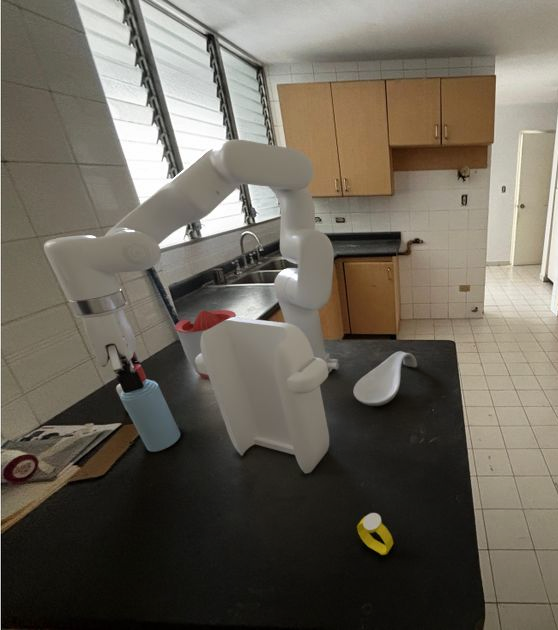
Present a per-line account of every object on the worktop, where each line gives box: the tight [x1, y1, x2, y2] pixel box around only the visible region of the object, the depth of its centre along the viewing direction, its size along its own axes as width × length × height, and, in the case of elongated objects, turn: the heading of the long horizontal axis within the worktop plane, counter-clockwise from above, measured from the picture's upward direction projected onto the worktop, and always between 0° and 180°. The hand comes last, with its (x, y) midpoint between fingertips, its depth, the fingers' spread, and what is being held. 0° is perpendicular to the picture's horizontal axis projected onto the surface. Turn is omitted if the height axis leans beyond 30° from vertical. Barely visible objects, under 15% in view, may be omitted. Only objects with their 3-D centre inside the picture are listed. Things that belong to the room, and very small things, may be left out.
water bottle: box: [119, 378, 181, 453], centre depth 73 cm, size 6×6×19 cm
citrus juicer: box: [174, 309, 237, 380], centre depth 101 cm, size 16×17×20 cm
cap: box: [133, 363, 147, 382], centre depth 69 cm, size 4×4×3 cm
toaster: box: [195, 316, 330, 475], centre depth 67 cm, size 27×11×30 cm, turn 71°
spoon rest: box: [353, 350, 418, 407], centre depth 91 cm, size 24×12×7 cm, turn 153°
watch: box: [356, 512, 394, 556], centre depth 51 cm, size 6×3×6 cm, turn 59°
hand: (135, 384), depth 70 cm, fingers closed on cap, 3 cm apart
